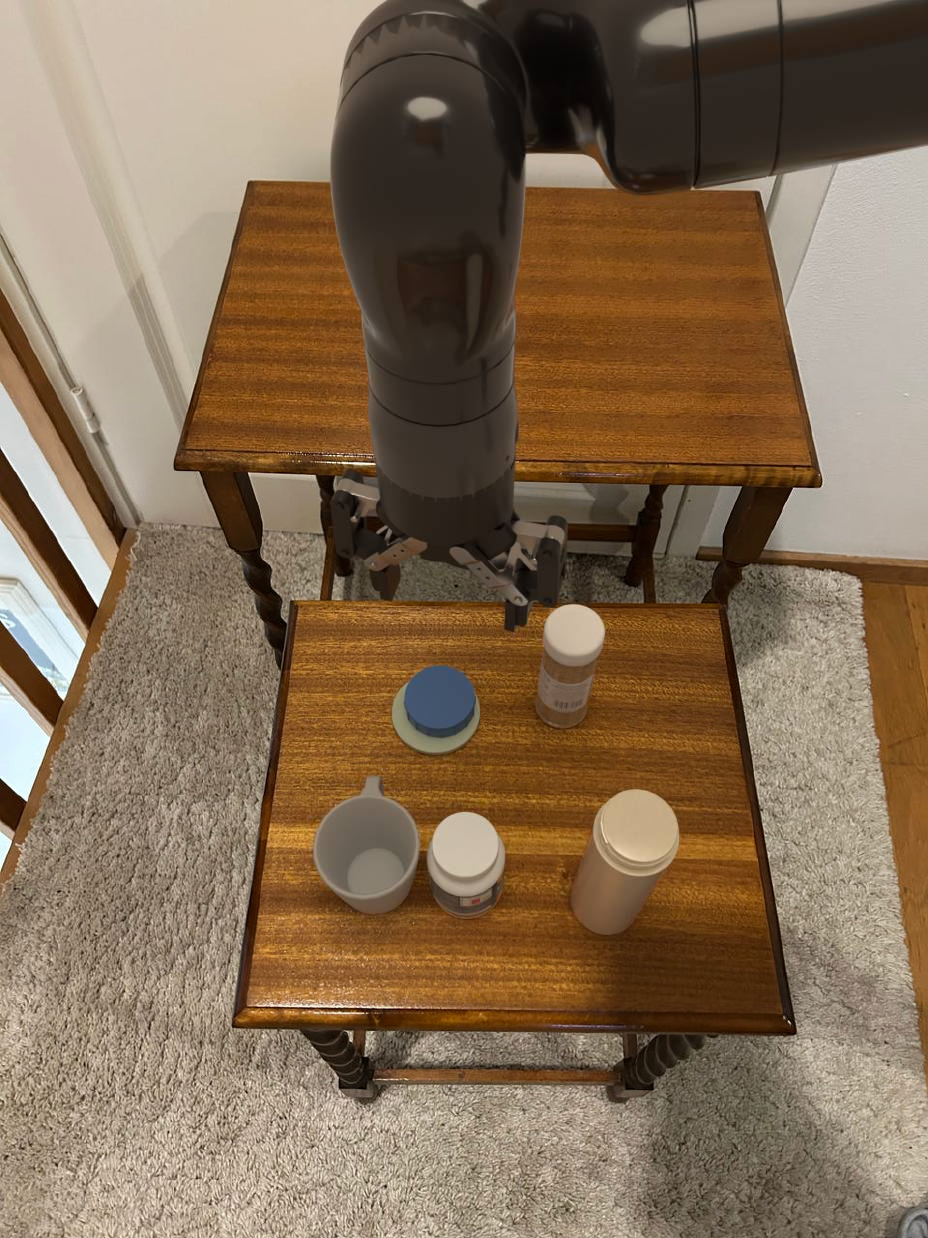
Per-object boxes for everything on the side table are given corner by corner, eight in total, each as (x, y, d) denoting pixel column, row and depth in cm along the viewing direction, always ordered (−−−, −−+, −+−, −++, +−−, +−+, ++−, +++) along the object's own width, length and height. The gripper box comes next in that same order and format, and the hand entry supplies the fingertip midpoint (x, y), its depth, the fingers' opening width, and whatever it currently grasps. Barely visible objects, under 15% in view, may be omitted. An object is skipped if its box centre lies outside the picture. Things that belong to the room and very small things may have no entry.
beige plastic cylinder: (622, 855, 74) (661, 772, 59) (651, 921, 71) (700, 851, 56) (559, 878, 73) (582, 799, 58) (586, 945, 71) (618, 881, 56)
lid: (391, 700, 81) (390, 690, 79) (447, 663, 82) (446, 652, 81) (433, 751, 78) (432, 742, 76) (489, 711, 80) (489, 702, 78)
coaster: (491, 689, 82) (491, 685, 81) (464, 766, 78) (464, 763, 78) (409, 665, 83) (409, 662, 83) (379, 740, 79) (378, 737, 79)
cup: (323, 927, 71) (307, 898, 64) (334, 802, 77) (320, 762, 69) (423, 928, 71) (418, 900, 64) (427, 803, 76) (423, 763, 69)
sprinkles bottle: (591, 690, 82) (611, 609, 70) (580, 736, 79) (599, 661, 68) (540, 678, 82) (551, 596, 71) (528, 723, 80) (538, 646, 69)
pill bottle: (514, 903, 72) (520, 866, 64) (445, 932, 71) (442, 898, 63) (486, 837, 75) (488, 792, 66) (419, 863, 74) (412, 821, 65)
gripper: (290, 462, 48) (332, 626, 62) (560, 523, 46) (541, 679, 59) (341, 362, 52) (370, 537, 65) (593, 414, 49) (568, 584, 63)
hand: (451, 605), depth 62 cm, fingers open, 8 cm apart
